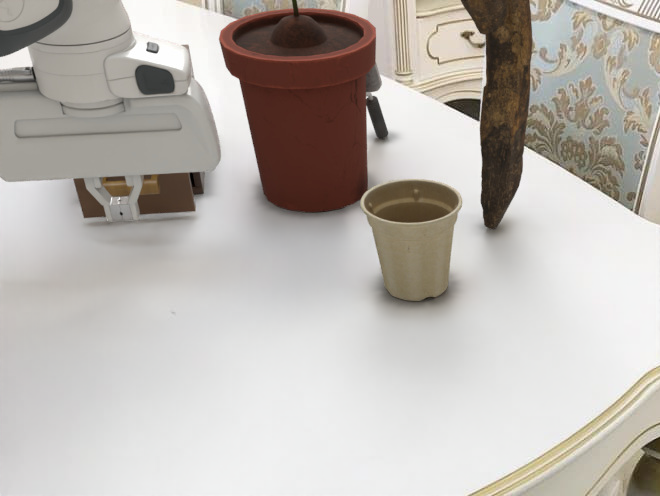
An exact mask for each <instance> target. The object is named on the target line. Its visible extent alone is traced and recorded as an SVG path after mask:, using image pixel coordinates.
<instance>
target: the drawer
mask: <svg viewBox="0 0 660 496" xmlns="http://www.w3.org/2000/svg"><path fill="white" fill-rule="evenodd" d="M72 180H73V184H74V187H75V190H76V194H77V198H78V202H79V206H80V209H81V213H82V216H83V218H84V219H93V218H106V214H105V210H104V206H103V205H101V204H100V203H99V202H98V201H97V200H96V198H95V197H94V196H93V195H92V194H91V193H90V192H89V191H88V190H87V189H86V185H85V181H84V178H77V179H72ZM102 185H103V187H104V188H105V189H106V190H107V191H108V193H109V194H110V195H111V196H112V197H121V196H129V194H130V191H131V188H132V186H127V183H126V179H125V176H114V177H103V181H102ZM194 195H195V194H193V190H192V185H191V180H190V172H187V173H169V174H150V175H144V178H143V185H142V188H141V191H140V194H139V197H138V199H137V202H138V206H139V211H140V216H143V215H158V214H175V213H191V212H196V211H197V210H196V207H197V206H196V202H195V196H194Z"/></svg>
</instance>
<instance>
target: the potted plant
mask: <svg viewBox="0 0 660 496" xmlns="http://www.w3.org/2000/svg"><path fill="white" fill-rule="evenodd" d="M291 5H292V8H282V9H274V10H266V11H261V12H258V13H257V12H256V13H253V14H249V15H245V16H242V17H241V18H238V19H235V20H234V21H231V22H229V23H228V24H227V25H225V26H224V28H222V29H221V30H220V32H219V37H218V41H219V45H220V50H221V52H222V53H221V54H222V56H223V60H224V64H225V68H226V69H227V71H228V72H229V73H230V75H231V76H233V77H234V78H236V79H238V81H239V86H240V90H241V95H242V99H243V104H244V109H245V113H246V118H247V123H248V128H249V132H250V135H251V141H252V146H253V151H254V155H255V160H256V161H255V162H256V164H257V170H258V174H259V179H260V184H261V187H262V192H263V193H262V194H263V196H264V197H265V198H266V200H267V201H268V202H269V203H271V204H272V205H274V206H275V207H277V208H281V209H284V210H289V211H293V212H294V211H295V212H302V213H319V212H320V213H321V212H328V211H335V210H340V209H343V208H345V207H348V206H351V205H354V204H355V203H357V202H359V201H361V198H362V196H363V195H364V193H365V192H366V191H368V190H369V180H368V179H369V176H368V133H367V132H368V124H367V123H368V121H367V118H368V117H367V112H368V115H369V118H370V121H371V123H372V127H373V130H374V133H375V136H376V138H377V139H380V140H383V139H385V138H387V137H388V136H389V130H388V128H387V124H386V120H385V117H384V115H383V111H382V108H381V105H380V101H379V99H378V97H377V96H376V95H373V94H372V93H375V92H378V91H380V89H381V88H382V85H383V81H382V78H381V74H380V70H379V68H378V63H377V60H376V59H377V58H376V56H377V55H376V54H377V53H376V52H377V28H376V27H375V25H374V24H373V23H371V22H370V20H368V19H366V18H363V17H361V16H359V15H357V14H354V13H350V12H345V11H340V10H336V9H327V8H315V7H306V8H304V7H303V8H302V7H301V8H300V7H299V6H298V0H291Z"/></svg>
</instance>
